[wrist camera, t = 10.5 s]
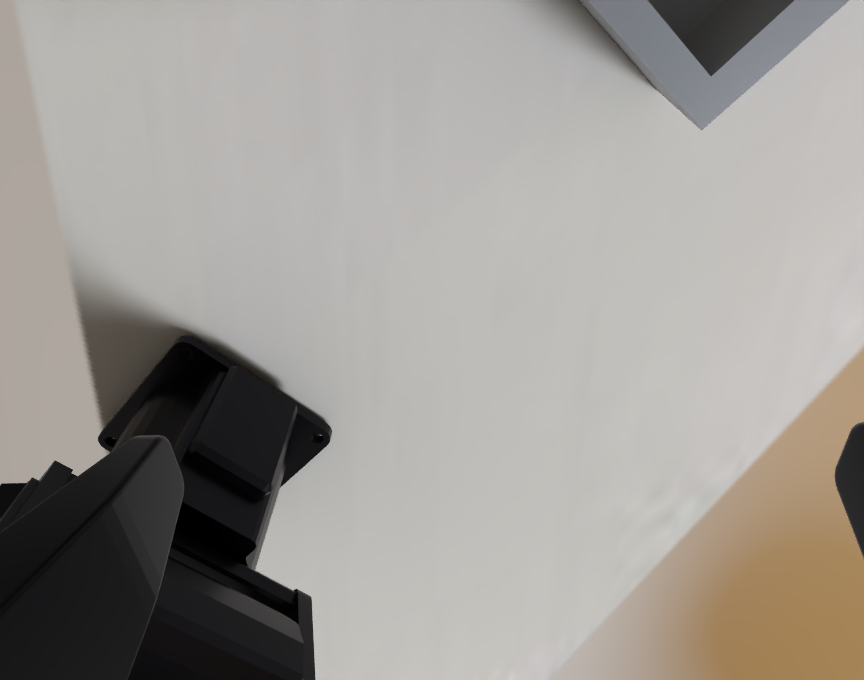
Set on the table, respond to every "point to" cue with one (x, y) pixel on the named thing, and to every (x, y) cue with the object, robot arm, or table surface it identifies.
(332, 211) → the table surface
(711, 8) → the tray
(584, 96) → the table surface
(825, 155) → the table surface
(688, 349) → the table surface
